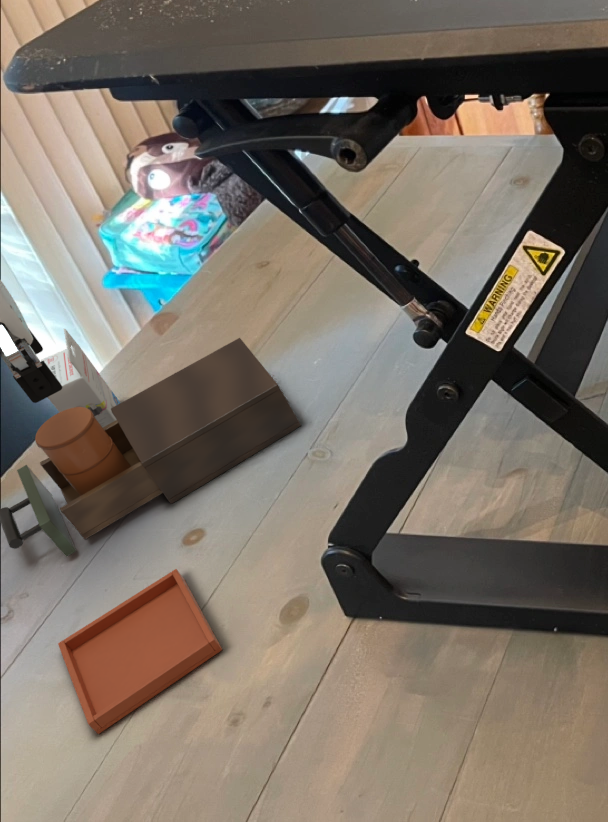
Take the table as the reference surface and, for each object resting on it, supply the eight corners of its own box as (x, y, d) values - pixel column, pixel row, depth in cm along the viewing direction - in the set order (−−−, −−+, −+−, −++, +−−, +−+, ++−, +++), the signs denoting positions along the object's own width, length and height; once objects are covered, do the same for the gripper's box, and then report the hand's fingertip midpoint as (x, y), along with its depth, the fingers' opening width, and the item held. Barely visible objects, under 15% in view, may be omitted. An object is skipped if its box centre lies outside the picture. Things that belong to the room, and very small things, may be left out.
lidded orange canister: (90, 516, 130) (40, 455, 123) (77, 488, 134) (28, 428, 127) (143, 484, 132) (98, 423, 126) (129, 458, 137) (84, 398, 130)
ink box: (85, 420, 148) (26, 342, 139) (122, 403, 149) (65, 325, 140) (90, 455, 141) (29, 376, 132) (129, 437, 143) (71, 358, 134)
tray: (98, 734, 107) (88, 724, 106) (67, 653, 116) (57, 643, 115) (222, 649, 113) (214, 639, 112) (184, 579, 122) (176, 568, 121)
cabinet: (171, 504, 132) (141, 463, 127) (139, 448, 141) (110, 408, 136) (301, 425, 139) (277, 384, 135) (263, 377, 149) (239, 337, 144)
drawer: (30, 578, 125) (2, 547, 121) (8, 519, 133) (-19, 489, 129) (199, 477, 134) (178, 445, 130) (169, 428, 142) (147, 397, 138)
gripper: (-102, 242, 114) (-10, 359, 125) (-78, 308, 103) (20, 430, 113) (-28, 210, 118) (55, 326, 128) (3, 271, 106) (91, 392, 117)
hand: (38, 375), depth 121 cm, fingers open, 9 cm apart
